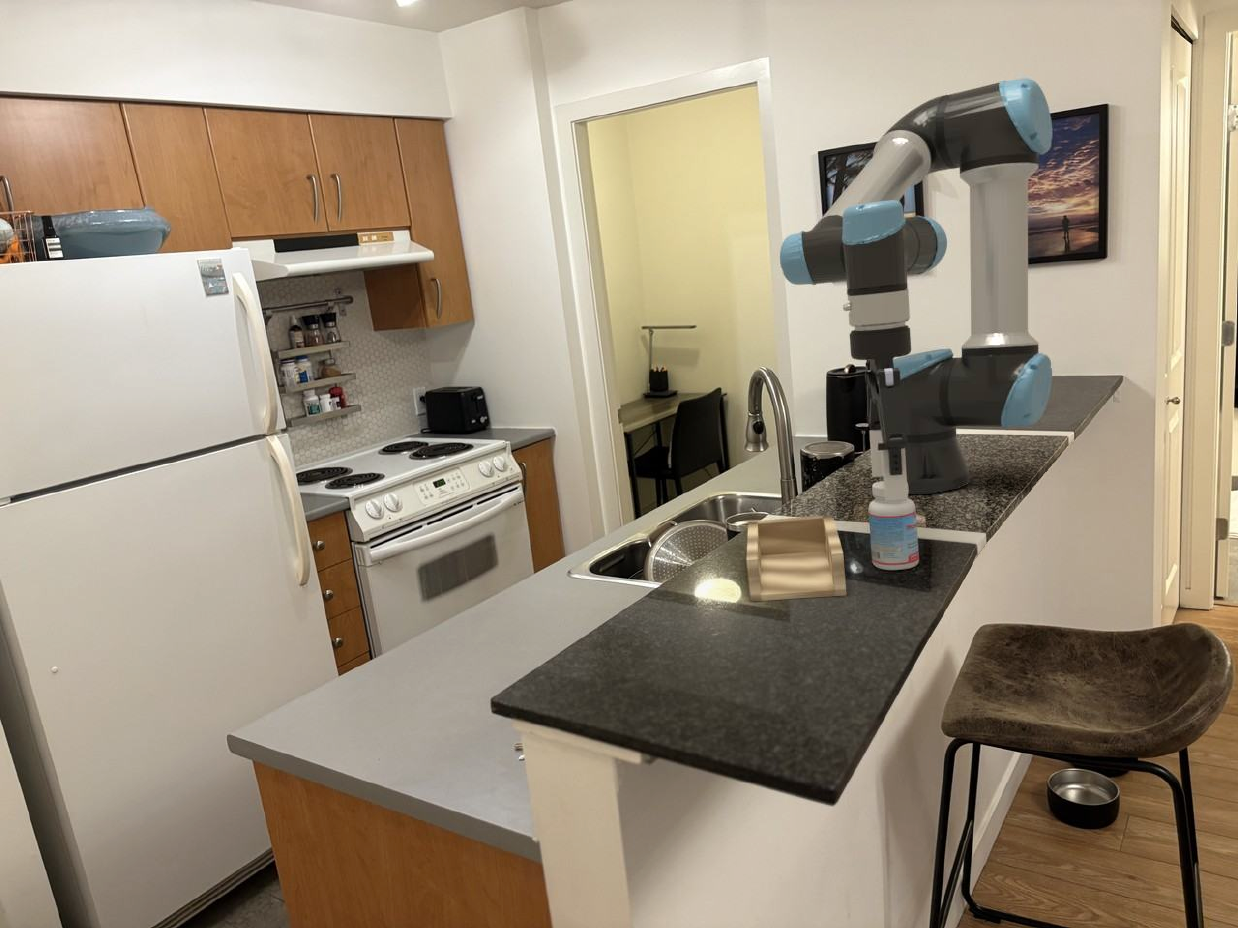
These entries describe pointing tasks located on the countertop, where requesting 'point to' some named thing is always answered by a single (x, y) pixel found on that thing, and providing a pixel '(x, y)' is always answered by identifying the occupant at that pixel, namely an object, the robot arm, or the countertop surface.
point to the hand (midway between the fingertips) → (889, 487)
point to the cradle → (795, 559)
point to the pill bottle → (892, 531)
